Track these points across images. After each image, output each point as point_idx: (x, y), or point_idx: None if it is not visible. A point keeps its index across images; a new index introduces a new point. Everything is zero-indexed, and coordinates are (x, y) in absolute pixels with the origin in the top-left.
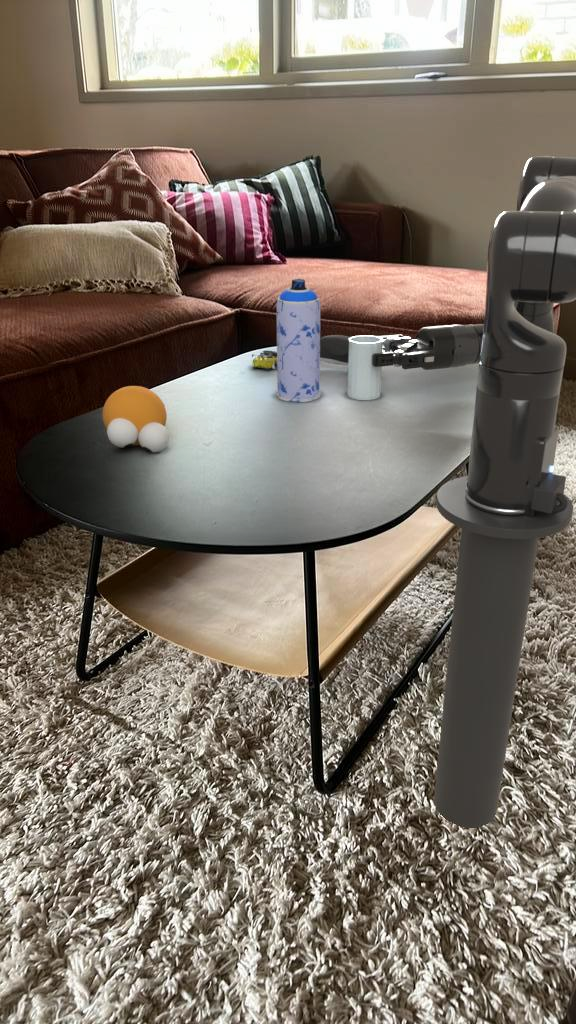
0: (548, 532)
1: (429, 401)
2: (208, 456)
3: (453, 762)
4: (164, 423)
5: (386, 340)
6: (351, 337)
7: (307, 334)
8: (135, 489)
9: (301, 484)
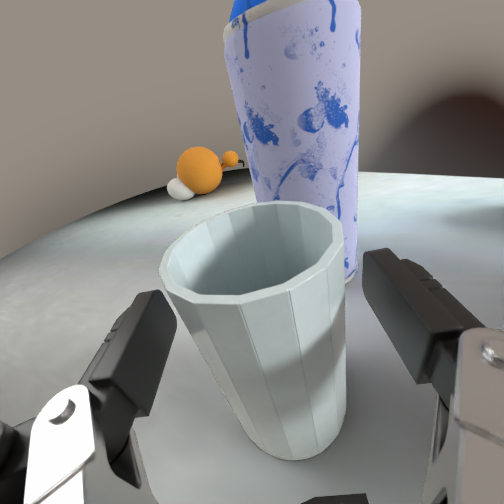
0: None
1: None
2: (154, 218)
3: None
4: (187, 184)
5: (452, 439)
6: (302, 203)
7: (243, 138)
8: (137, 204)
9: (48, 263)
